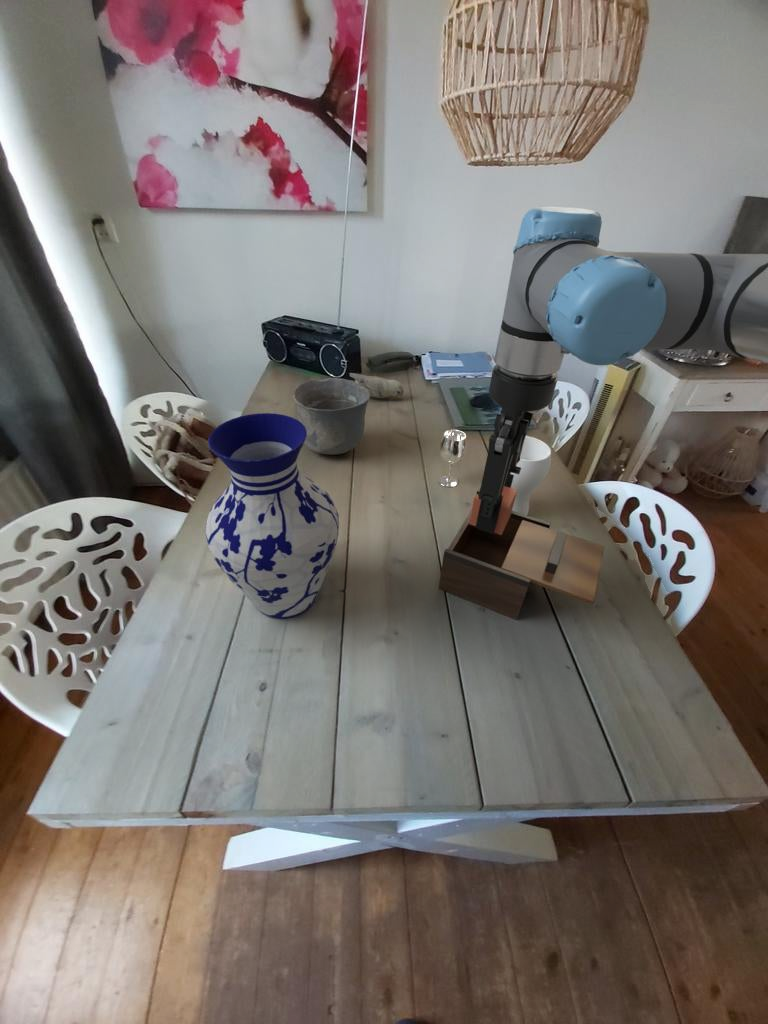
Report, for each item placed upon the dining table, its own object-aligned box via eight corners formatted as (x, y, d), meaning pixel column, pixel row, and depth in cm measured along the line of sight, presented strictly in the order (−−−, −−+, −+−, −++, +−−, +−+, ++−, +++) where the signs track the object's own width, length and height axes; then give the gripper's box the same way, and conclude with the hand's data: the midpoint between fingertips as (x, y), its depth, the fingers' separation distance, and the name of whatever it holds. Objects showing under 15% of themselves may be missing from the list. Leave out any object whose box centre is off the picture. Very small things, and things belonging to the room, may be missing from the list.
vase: (272, 664, 64) (231, 500, 45) (205, 592, 74) (149, 433, 55) (366, 592, 74) (365, 436, 55) (297, 538, 84) (276, 390, 65)
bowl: (375, 435, 116) (376, 380, 106) (363, 472, 102) (363, 413, 93) (310, 429, 118) (305, 374, 108) (289, 464, 104) (281, 405, 95)
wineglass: (432, 484, 99) (437, 438, 92) (440, 472, 103) (446, 426, 96) (456, 491, 97) (464, 444, 90) (464, 478, 101) (471, 432, 94)
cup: (505, 488, 99) (519, 428, 89) (545, 511, 93) (565, 450, 83) (473, 506, 93) (485, 444, 84) (514, 532, 87) (531, 469, 78)
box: (516, 620, 71) (529, 582, 65) (438, 588, 75) (444, 551, 70) (538, 559, 82) (551, 522, 76) (468, 535, 86) (475, 499, 81)
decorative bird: (402, 404, 131) (403, 379, 126) (348, 400, 132) (348, 376, 127) (403, 396, 135) (404, 372, 130) (351, 393, 136) (351, 369, 131)
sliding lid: (592, 605, 63) (598, 592, 62) (500, 571, 68) (503, 558, 66) (603, 549, 73) (608, 536, 71) (521, 523, 77) (524, 510, 76)
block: (501, 535, 64) (508, 508, 61) (468, 524, 66) (474, 497, 62) (510, 515, 67) (517, 489, 64) (479, 505, 69) (484, 479, 66)
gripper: (542, 405, 44) (497, 565, 59) (572, 350, 56) (529, 494, 71) (470, 388, 47) (445, 546, 61) (514, 340, 59) (484, 481, 74)
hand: (490, 518), depth 66 cm, fingers closed on block, 5 cm apart
